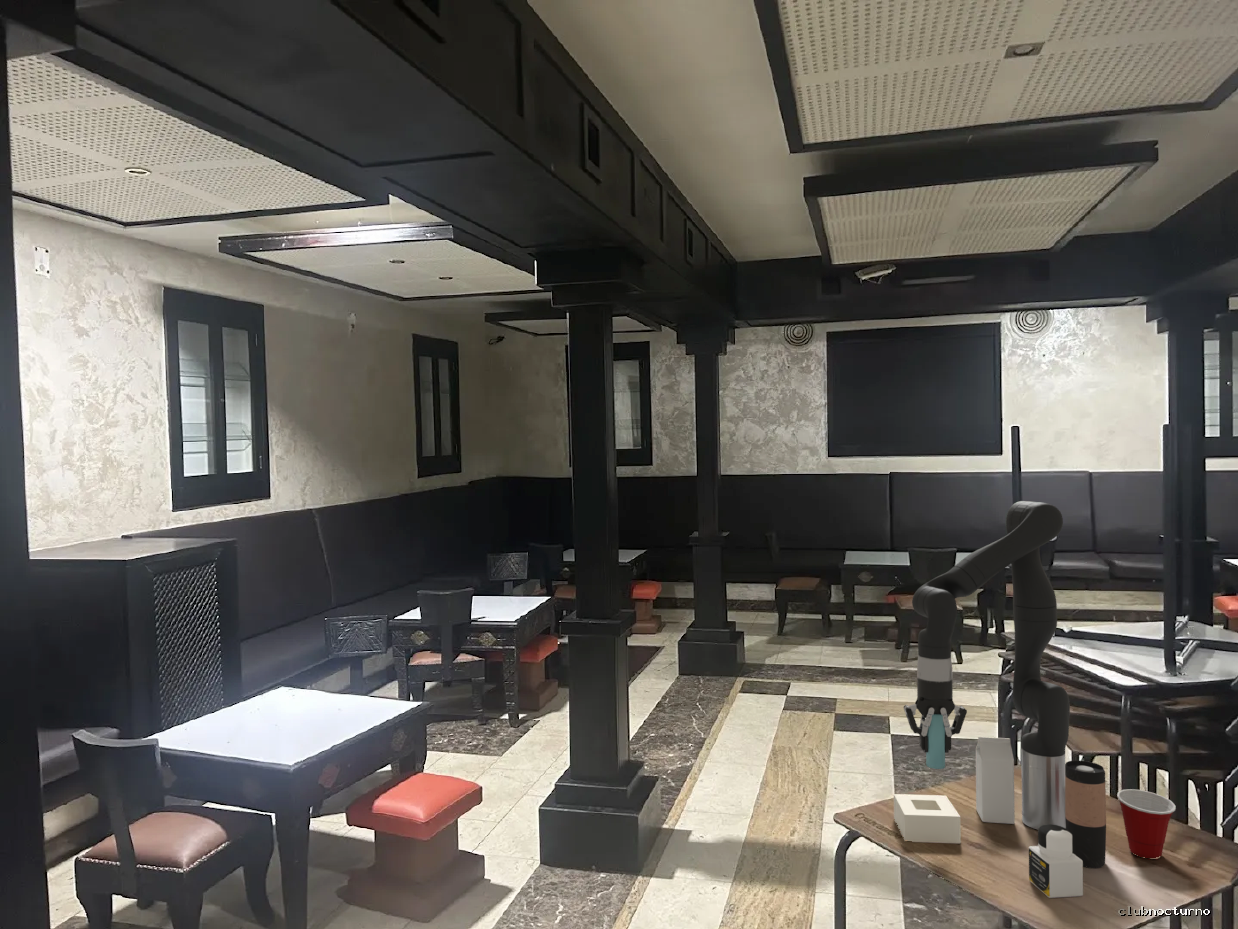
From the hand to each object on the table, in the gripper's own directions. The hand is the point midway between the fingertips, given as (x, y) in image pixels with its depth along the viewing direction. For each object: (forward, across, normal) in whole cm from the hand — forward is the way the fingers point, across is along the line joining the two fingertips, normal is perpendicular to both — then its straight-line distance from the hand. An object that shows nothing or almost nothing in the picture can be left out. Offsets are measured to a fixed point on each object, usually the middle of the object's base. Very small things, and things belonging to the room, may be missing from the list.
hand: (935, 751), depth 194 cm
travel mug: (+19, -28, +10) cm, 36 cm away
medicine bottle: (+20, -17, +23) cm, 34 cm away
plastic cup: (+19, -42, +6) cm, 47 cm away
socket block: (+19, +1, -3) cm, 20 cm away
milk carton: (+20, -17, -11) cm, 28 cm away
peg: (+3, 0, 0) cm, 3 cm away
